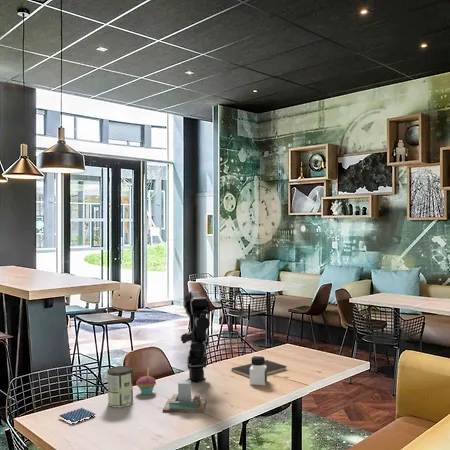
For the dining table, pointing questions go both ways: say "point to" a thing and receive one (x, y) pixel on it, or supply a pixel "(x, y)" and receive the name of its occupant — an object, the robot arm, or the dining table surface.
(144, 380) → the cupcake
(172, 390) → the dining table surface
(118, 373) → the coffee can
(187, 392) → the block
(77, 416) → the woven mat
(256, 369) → the medicine bottle
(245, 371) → the hardcover book
